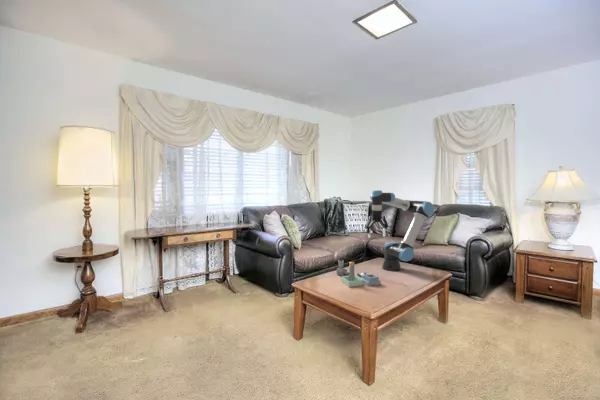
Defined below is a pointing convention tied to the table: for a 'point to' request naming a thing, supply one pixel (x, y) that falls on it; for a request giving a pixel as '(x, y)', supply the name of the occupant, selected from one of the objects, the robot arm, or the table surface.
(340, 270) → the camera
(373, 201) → the robot arm
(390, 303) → the table surface
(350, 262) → the orange and grey cylinder
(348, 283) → the tray
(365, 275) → the block
